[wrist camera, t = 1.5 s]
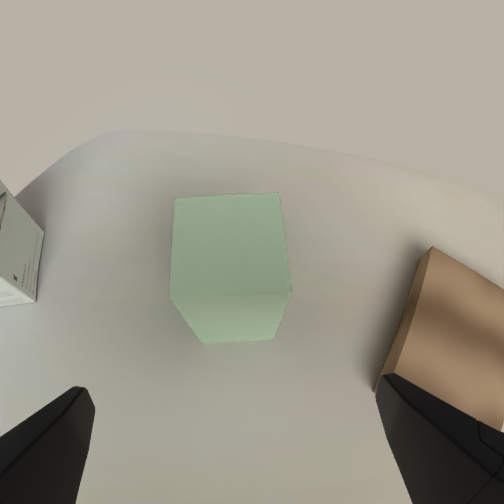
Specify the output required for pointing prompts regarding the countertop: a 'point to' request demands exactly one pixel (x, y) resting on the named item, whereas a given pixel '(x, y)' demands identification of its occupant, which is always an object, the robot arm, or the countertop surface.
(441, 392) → the walnut plinth
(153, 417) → the countertop surface
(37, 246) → the supplement box
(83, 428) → the robot arm
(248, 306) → the sage block
